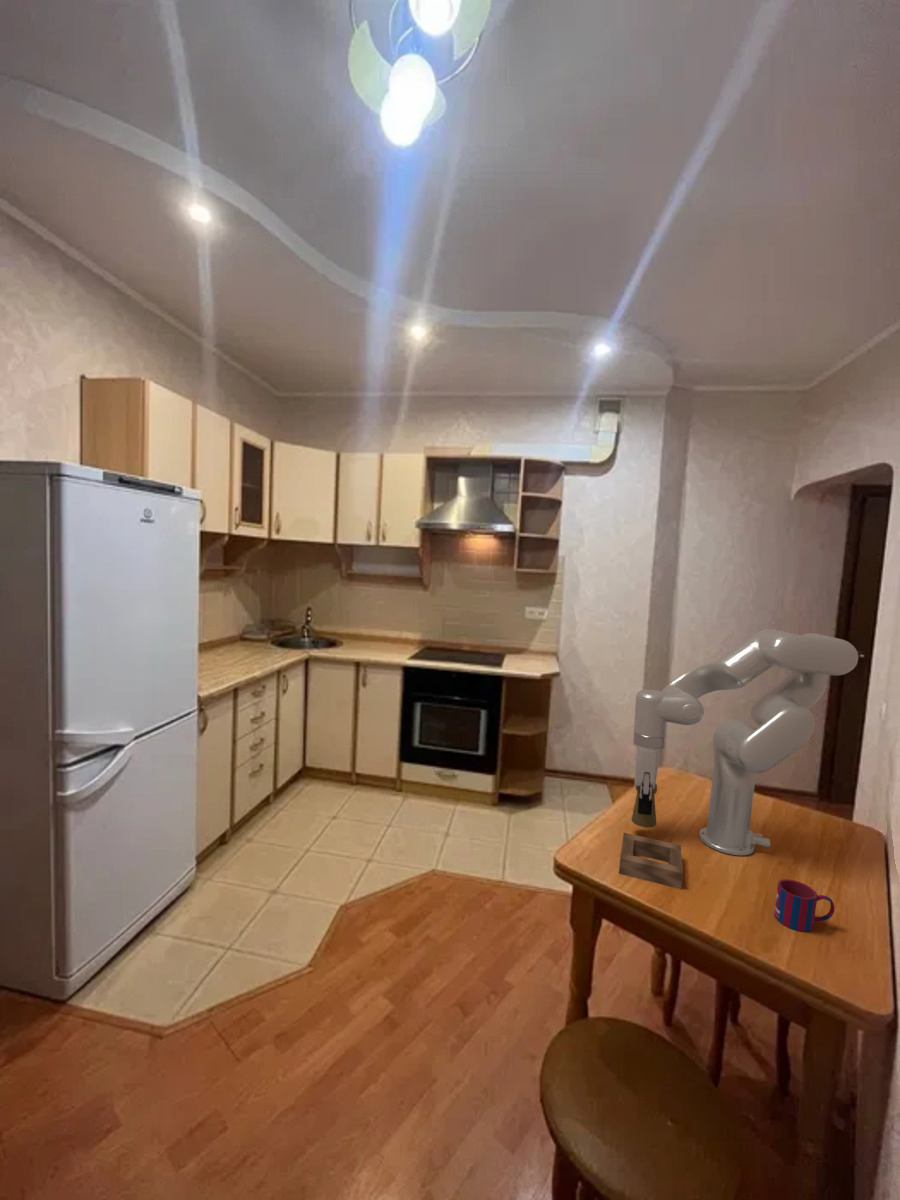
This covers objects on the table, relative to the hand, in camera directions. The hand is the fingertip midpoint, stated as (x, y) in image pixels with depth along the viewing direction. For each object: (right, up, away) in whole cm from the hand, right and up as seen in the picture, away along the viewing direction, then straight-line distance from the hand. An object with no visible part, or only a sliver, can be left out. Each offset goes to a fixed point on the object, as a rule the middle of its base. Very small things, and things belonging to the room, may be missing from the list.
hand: (644, 809), depth 143 cm
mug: (+21, -12, -31) cm, 39 cm away
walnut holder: (-3, -8, -14) cm, 16 cm away
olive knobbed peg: (0, -4, 0) cm, 4 cm away
